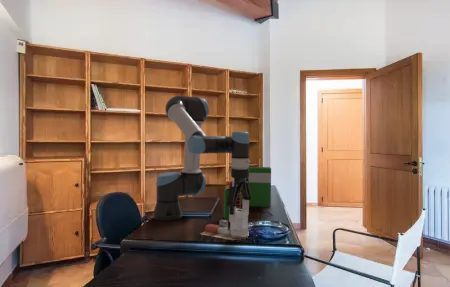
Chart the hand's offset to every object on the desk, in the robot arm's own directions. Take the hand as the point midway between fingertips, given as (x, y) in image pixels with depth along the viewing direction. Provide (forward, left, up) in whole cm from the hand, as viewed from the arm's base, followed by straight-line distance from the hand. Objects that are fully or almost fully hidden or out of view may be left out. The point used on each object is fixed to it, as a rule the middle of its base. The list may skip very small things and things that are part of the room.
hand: (239, 218), depth 125 cm
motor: (-15, +25, -9) cm, 31 cm away
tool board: (-4, +1, -9) cm, 10 cm away
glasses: (-9, +42, -9) cm, 44 cm away
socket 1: (-10, +5, -8) cm, 14 cm away
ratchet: (-6, 0, -8) cm, 10 cm away
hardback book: (-16, +63, -9) cm, 66 cm away
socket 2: (0, 0, -5) cm, 5 cm away
